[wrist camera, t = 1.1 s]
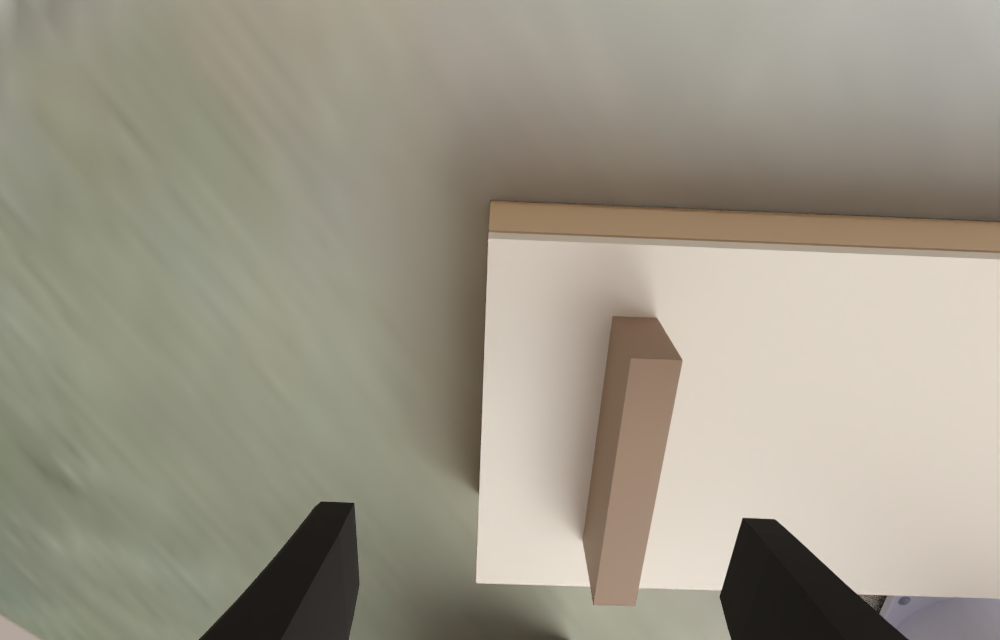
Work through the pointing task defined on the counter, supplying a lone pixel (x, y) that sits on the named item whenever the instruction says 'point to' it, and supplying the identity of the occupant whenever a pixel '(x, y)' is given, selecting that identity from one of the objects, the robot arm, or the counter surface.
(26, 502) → the counter surface
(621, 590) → the box lid
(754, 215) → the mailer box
